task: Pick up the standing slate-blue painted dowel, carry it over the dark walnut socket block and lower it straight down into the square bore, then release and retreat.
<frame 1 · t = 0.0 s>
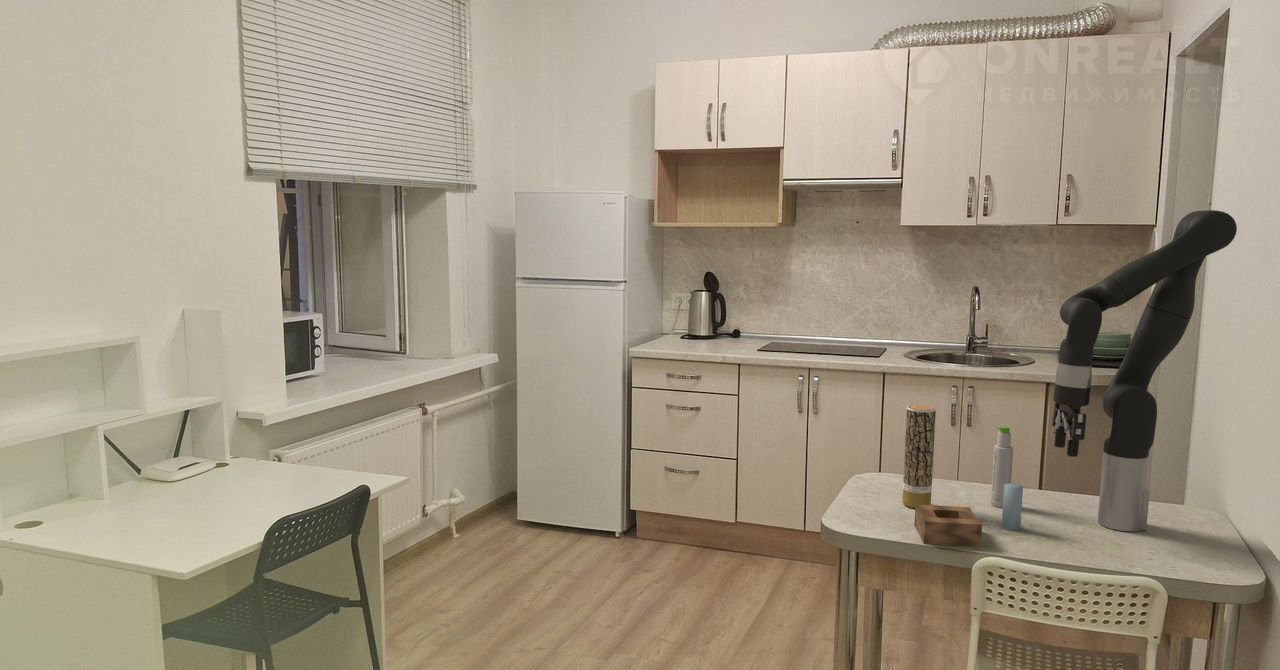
hand: (1065, 451, 201), 17 cm above the table, tool pointing down, fingers open, 8 cm apart
socket block: (946, 535, 193), on the table
peg: (1010, 527, 199), on the table
paper tube: (916, 506, 214), on the table
bottle: (1000, 505, 215), on the table
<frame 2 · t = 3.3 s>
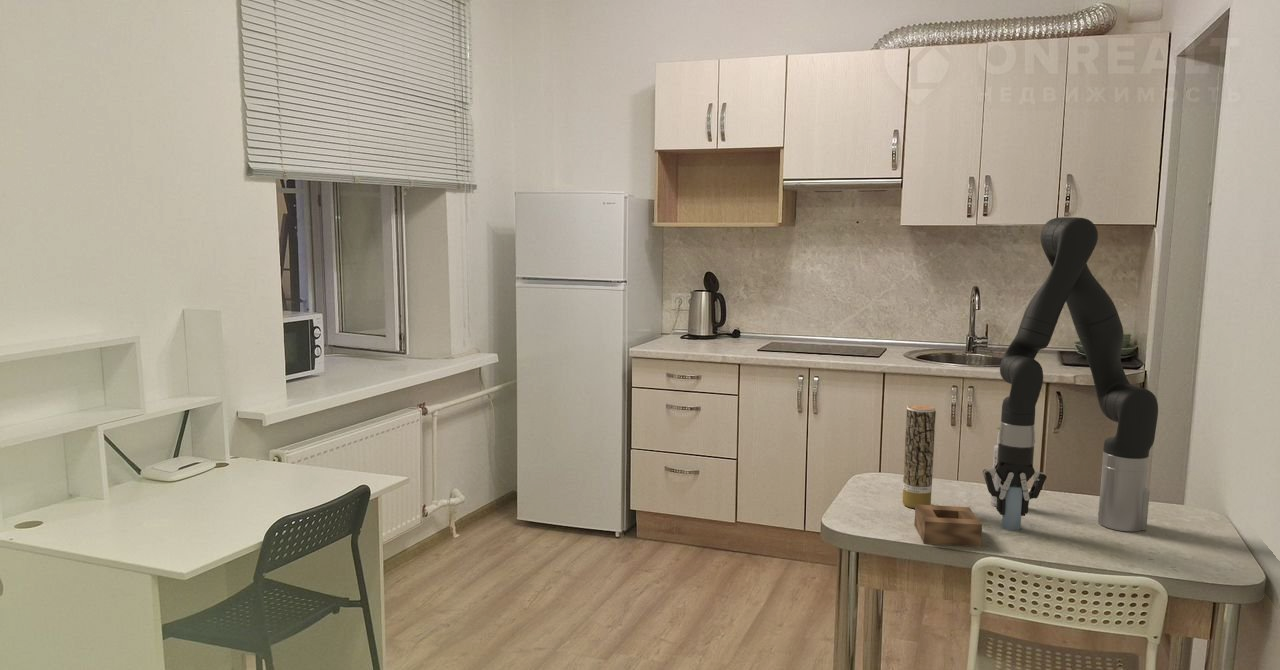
hand: (1011, 514, 199), 3 cm above the table, tool pointing down, fingers closed on peg, 4 cm apart
peg: (1010, 527, 199), on the table, touching gripper
everything else where it was.
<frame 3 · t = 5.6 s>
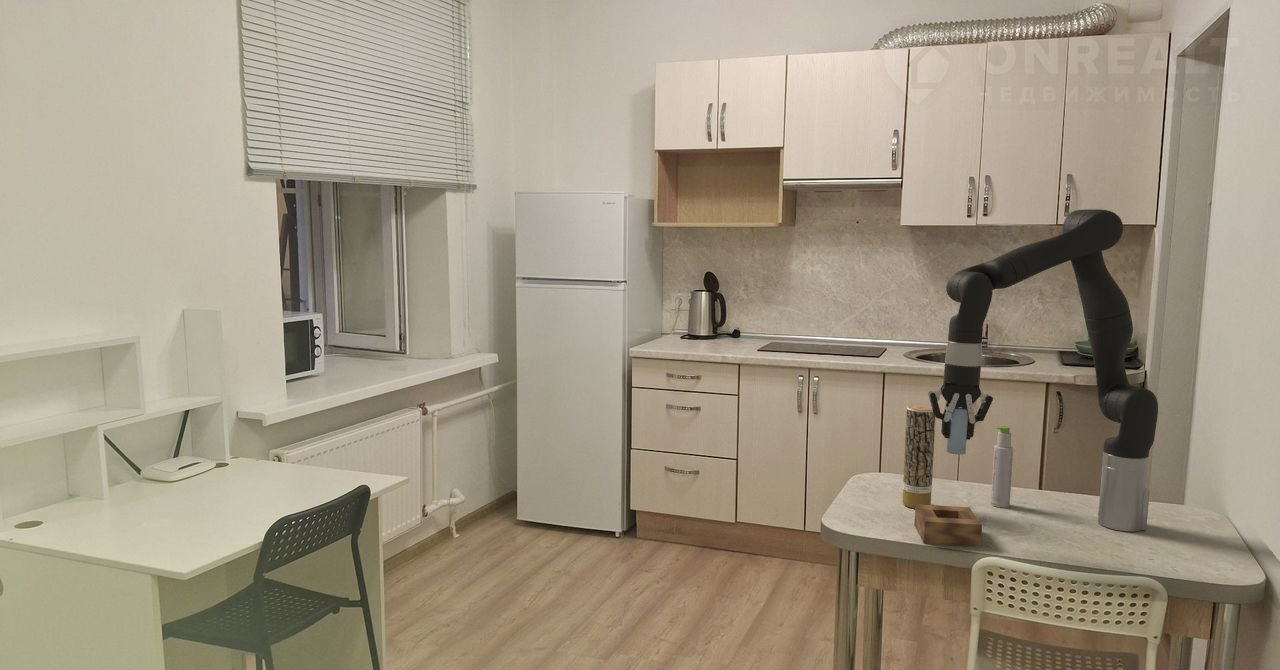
hand: (956, 437, 191), 22 cm above the table, tool pointing down, fingers closed on peg, 4 cm apart
peg: (955, 452, 192), point 19 cm above the table, touching gripper
everything else where it was.
when the fingers open (6 cm above the table, at t = 8.1 s): peg drops 3 cm, resting in socket block.
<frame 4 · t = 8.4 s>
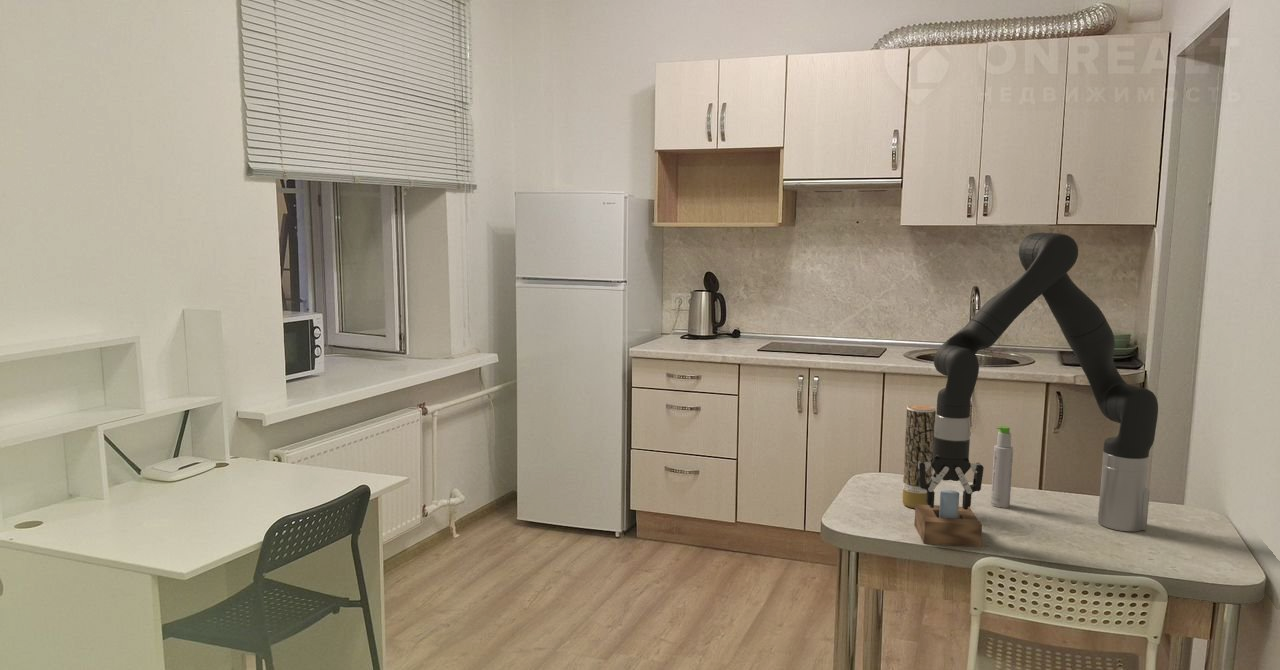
hand: (947, 507, 193), 7 cm above the table, tool pointing down, fingers open, 6 cm apart
peg: (947, 535, 193), resting in socket block
everything else where it was.
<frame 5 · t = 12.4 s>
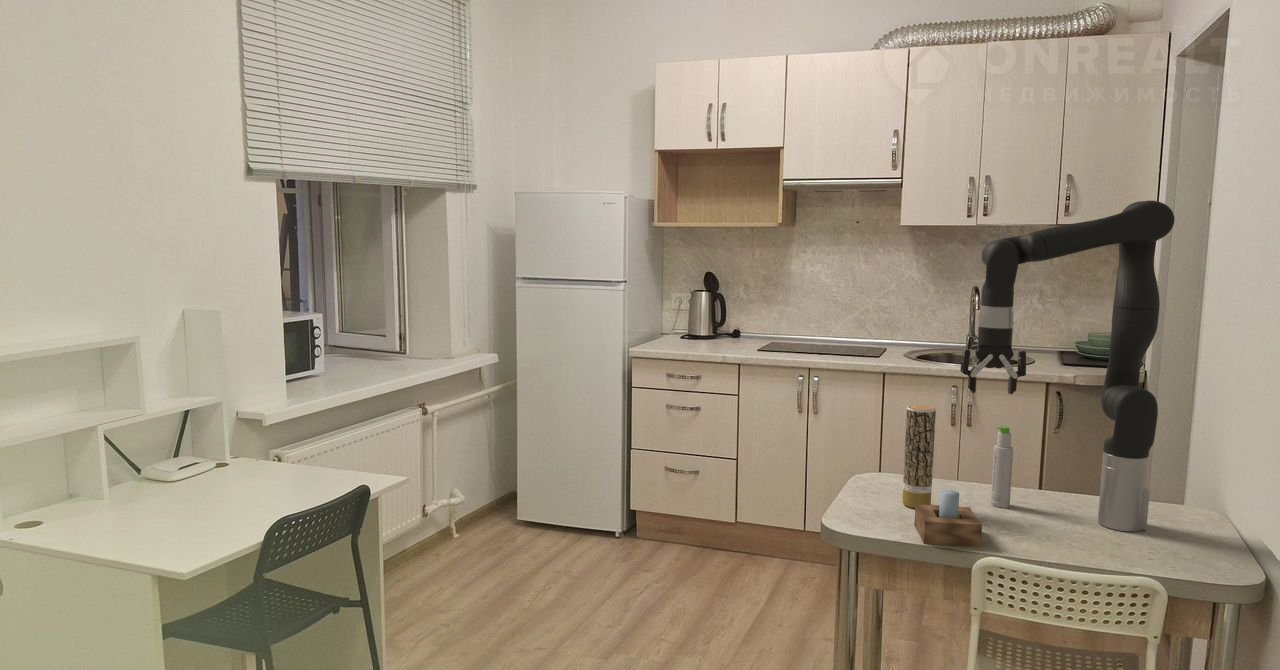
hand: (991, 393, 204), 30 cm above the table, tool pointing down, fingers open, 8 cm apart
nothing on the table moved.
at the end: peg 0.2 cm off-centre on the socket block, point 0.0 cm above the socket block's base; peg tilted 0°; the gripper is holding nothing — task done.
